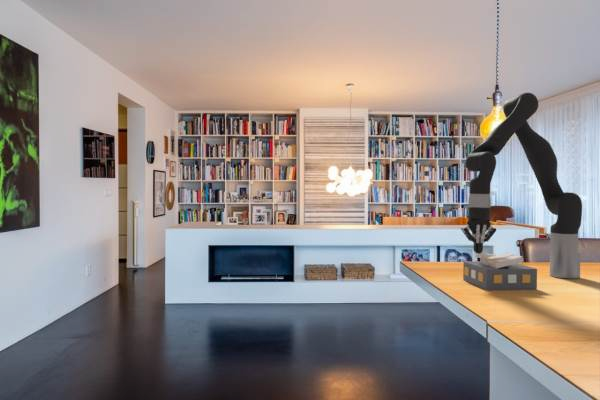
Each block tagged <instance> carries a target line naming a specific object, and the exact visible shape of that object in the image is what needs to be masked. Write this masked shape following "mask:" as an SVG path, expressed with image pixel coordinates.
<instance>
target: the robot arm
mask: <svg viewBox="0 0 600 400" xmlns="http://www.w3.org/2000/svg"><path fill="white" fill-rule="evenodd" d="M538 108H539V100H538V97H537V96H536V95H535V94H534V93H532V92H523V93H520V94H518V95H516V96H513V97H512V98H509V99H507V100H505V102H504V104H503V107H502V109H503V114H504V116H505V119H504V120H502V121H501V122H500V123H499V124H498V125H496V127H494V128H493V129H492V130H491V131H490V132H489V134H488V135H487V136H486V138H485V139H484V141H483V142H481V144H479V145H478V146H476V147H475V148H474V149H473V150H471V151H470V153H469V154H468V155H467V157H466V159H465V167H466V169H467V170H468V171H469V172H474V173H475V172H479V173H478V176H476V177H474V178H471V179H470V181H469V190H468V191H469V196H468V201H467V203H468V206H467V207H468V209H467V223H466V225H465V226H462V227H461V228H460V230H461V232H462V233H463V235H464V236H465V237H466V239H467V240H468V242H469V241H470V242H472V243H473V252H474V253H475V254H476V253H483V251H484V243H485V242H486V243H487V242H489V241H490V240H491V238H492V237H493V235H494V234H495V233H496V232H497V228H496V227H493V225H492V224H491V221H490V220H491V206H492V205H491V183H492V179H493V176H494V173H495V171H496V167H497V158H496V156H498V155H499V154H500V153H501V152H502V150H503V149H504V148H505V146H506V145H507V143H508V142H509V140H510V139H511V138H512V137H513V136H514V134H515V135H516V137H517V139H518V141H519V144H520V145H521V148H522V149H523V152H524V154H525V156H526V159H527V161H528V163H529V165H530V167H531V169H532V171H533V173H534V176H535V178H536V180H537V182H538V184H539V187H540V190H541V192H542V193H541V194H542V196H543V200H544V202H545V206H546V207H547V209H548V211H549V212H550V213H551V214H553V215H555V216H557V218H556V221H555V223H554V224H552V225H550V239H549V241H550V243H549V245H550V247H549V276H550V277H553V278H554V277H555V278H561V279H571V280H572V279H579V278H581V253H580V252H579V230H580V228H581V226H582V216H583V203H582V202H583V201H582V198H581V197H580V196H579V195H578V194H577V193H574V192H564V190H563V189H562V187H561V185H560V182H559V180H558V159H557V155H556V154H555V151H554V149H553V147H552V145H551V143H550V142H549V141H548V140H547V139H545V138H544V137H543V136H542V135H540V134H539V133H537V131H535V130H534V129H532V127H531V125H530V124H529V123H528V122H529V121H528V120H529V119H530V118H531V117H532V116H533V115H534V114H536V112H537V110H538Z"/></svg>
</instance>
